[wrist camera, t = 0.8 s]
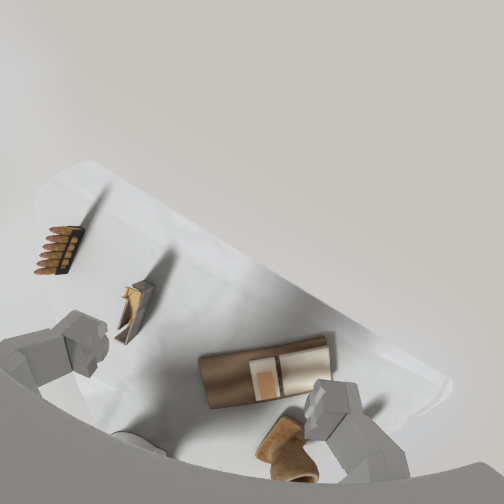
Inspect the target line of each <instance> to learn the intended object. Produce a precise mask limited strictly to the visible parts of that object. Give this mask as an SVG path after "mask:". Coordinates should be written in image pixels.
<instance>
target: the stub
mask: <svg viewBox="0 0 504 504" xmlns="http://www.w3.org/2000/svg"><path fill="white" fill-rule="evenodd" d="M249 364H250V370H251V375H252V381H253V386H254V391H255V396H256V401H259V400H265V399H271V398H276V397H280V390H279V384H278V377H277V370H276V364H275V358H274V357H270V358H264V359H258V360H253V361H249Z"/></svg>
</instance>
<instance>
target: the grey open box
mask: <svg viewBox="0 0 504 504" xmlns="http://www.w3.org/2000/svg"><path fill="white" fill-rule="evenodd" d="M132 287H134V288H136V289H138V290H139V291H138V290H135V289H132V288H130V287H126V288H127V289H126V292H125V294H124V297H122V298H126V300H127V301H126V304H125V307H124V310H123V313H122V316H121V319H120V322H119V325H118V328H117V330H119V329H121V328H122V327H123V326H125V325H126V324H127V323H128V326H127V328H126V329H125V330H124V331H122V332H121V333H120V334H119V335H117V336H116V337H115V338H114V340H116V341H118V342H120V343H122V344H124V345H127V344H128V343H129V342H130V341H131V340H132V339H133V338H134V337H135V336H136V335H137V334H138V331H139V329H140V326H141V323H142V320H143V317H144V314H145V312H146V309H147V306H148V304H149V301H150V298H151V295H152V293H153V290H154V288H155V285H153V284H151V283H149V282H147V281H145V280H143V281H140V282H138V283H135V284H133V285H132ZM141 291H142V292H141Z"/></svg>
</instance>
